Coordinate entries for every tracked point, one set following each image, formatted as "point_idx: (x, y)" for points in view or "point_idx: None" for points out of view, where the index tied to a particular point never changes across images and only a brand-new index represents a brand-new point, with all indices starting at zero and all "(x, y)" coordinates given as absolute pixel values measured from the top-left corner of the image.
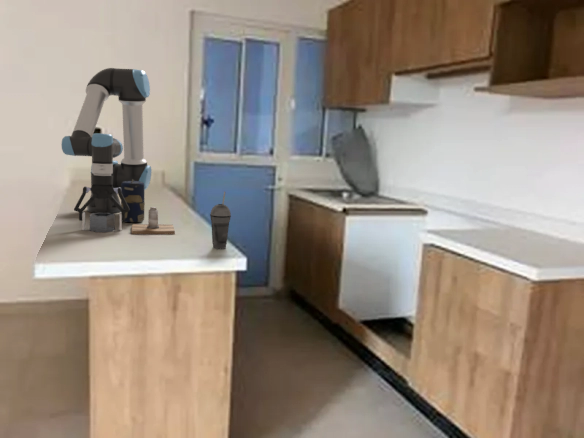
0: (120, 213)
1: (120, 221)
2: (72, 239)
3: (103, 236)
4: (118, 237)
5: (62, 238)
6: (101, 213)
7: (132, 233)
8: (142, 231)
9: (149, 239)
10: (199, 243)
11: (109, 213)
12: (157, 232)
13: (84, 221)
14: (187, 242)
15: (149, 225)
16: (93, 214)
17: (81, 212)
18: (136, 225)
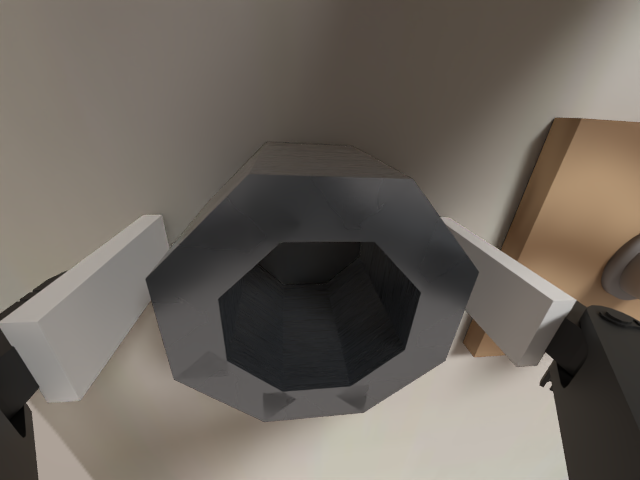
0: (529, 360)
1: (467, 305)
2: (181, 449)
3: None
4: (384, 403)
5: (124, 442)
6: (308, 239)
7: (469, 344)
8: None
9: (496, 417)
10: None
11: (423, 243)
12: None
13: (138, 305)
14: None
15: (631, 291)
16: (207, 334)
17: (24, 407)
18: (583, 185)
